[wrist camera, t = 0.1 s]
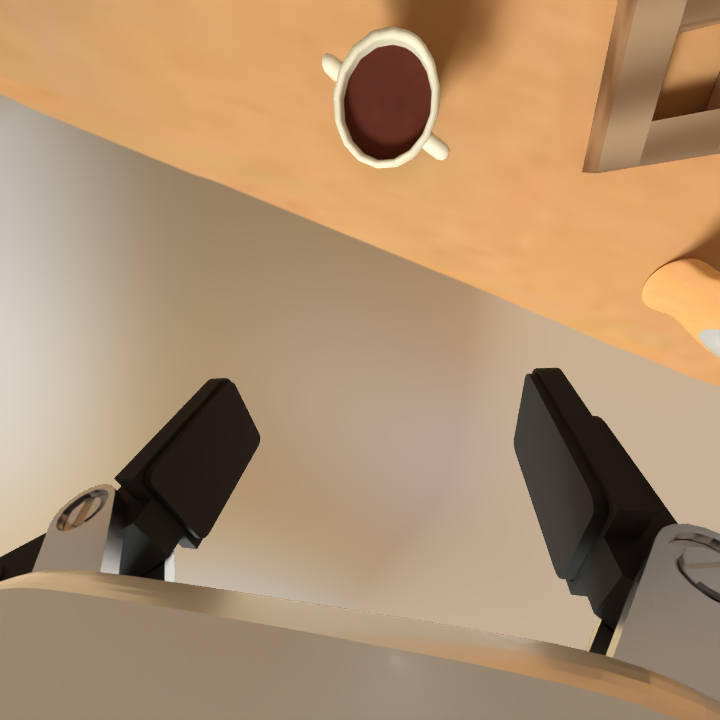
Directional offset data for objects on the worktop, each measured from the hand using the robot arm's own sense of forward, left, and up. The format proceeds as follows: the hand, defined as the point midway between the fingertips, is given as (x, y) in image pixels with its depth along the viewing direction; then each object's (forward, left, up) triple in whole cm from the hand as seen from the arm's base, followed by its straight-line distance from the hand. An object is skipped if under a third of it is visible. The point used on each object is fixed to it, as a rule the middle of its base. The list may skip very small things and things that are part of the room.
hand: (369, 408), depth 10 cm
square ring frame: (-9, +24, -31) cm, 40 cm away
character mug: (-10, 0, -31) cm, 33 cm away
